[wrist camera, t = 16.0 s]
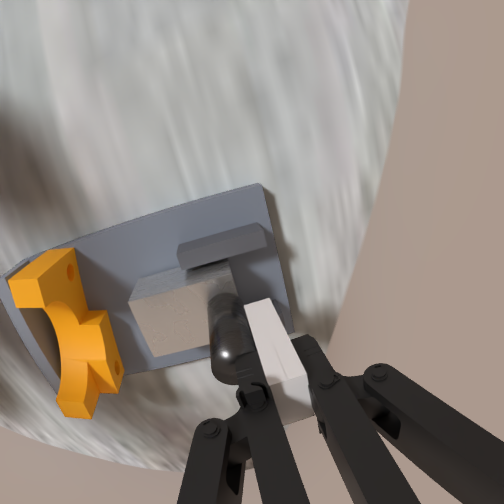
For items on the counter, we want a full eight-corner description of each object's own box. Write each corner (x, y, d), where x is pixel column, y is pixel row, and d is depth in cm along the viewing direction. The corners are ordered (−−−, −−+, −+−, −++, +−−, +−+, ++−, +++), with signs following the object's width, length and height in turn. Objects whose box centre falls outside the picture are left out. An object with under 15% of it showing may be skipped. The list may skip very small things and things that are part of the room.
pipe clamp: (124, 370, 25) (111, 420, 19) (84, 369, 24) (64, 416, 18) (93, 245, 21) (59, 277, 15) (48, 249, 20) (7, 280, 14)
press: (81, 373, 26) (66, 409, 21) (23, 259, 22) (-9, 283, 16) (290, 323, 28) (308, 358, 22) (258, 182, 23) (274, 190, 18)
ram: (159, 328, 24) (144, 419, 14) (138, 278, 22) (104, 357, 13) (243, 305, 24) (270, 391, 15) (228, 252, 23) (249, 322, 13)
